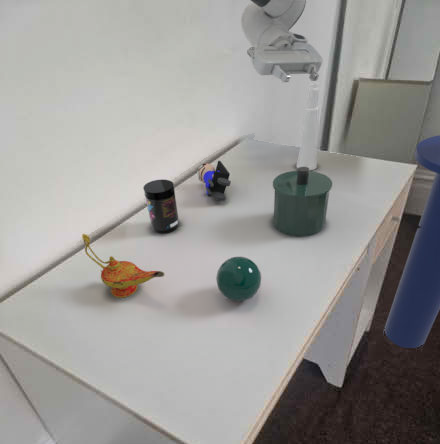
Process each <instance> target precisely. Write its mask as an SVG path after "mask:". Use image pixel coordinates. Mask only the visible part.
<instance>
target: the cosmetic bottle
mask: <svg viewBox="0 0 440 444" xmlns="http://www.w3.org/2000/svg"><path fill="white" fill-rule="evenodd" d="M319 86H320V84H319V83H318V82H310V83H309V87H308V89H307V101H306V107H305V108H304V113H303V121H302V128H301V137H300V144H299V145H300V146H299V152H298V156H297V157H298V158H297V161H296V165H295V166H296V169H298V168H299V167H308V168H309V171H314V170H316V169H317V167H318V160H317V159H318V156H317V152H318V151H317V149H318V148H317V147H318V132H319V131H318V130H319V113H320V111H319V110H320V108H319V107H318V105H319V104H318V103H319V96H320V87H319Z"/></svg>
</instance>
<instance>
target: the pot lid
mask: <svg viewBox="0 0 440 444" xmlns="http://www.w3.org/2000/svg"><path fill="white" fill-rule="evenodd" d="M272 188H273V190H274V191H275V190H276V191H277V192H278V193H280V194H283V195H285V196H289V197H294V198H312V197H317V196H321V195H324V194H326V193H327V192H329V193H330V191H331V190H332V189H333V181H332V179H331V178H330V177H329V176H328V175H326V174H324V173H321V172H317V171H314V170H310V171H309V168H308V167H299V168H297V170H291V171H286V172H283V173H280V174H278V175H277V176H276V177H275V178H273V180H272Z"/></svg>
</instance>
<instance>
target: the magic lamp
mask: <svg viewBox="0 0 440 444" xmlns="http://www.w3.org/2000/svg"><path fill="white" fill-rule="evenodd" d="M81 236H82V240H83V243H84V245H85V247H84V252H85V254H86V256H87V257H89V258H90V259H91V260H92V261H93V262H94V263H95V264H97V265H98V266H99V267H100V268H102V269H101V270H100V272H101V273H100V279H101V282H102V283H103V284H104V285H106V286H107V287H110V288H111V289H110V292H111V295H112V296H113V297H115V298H120V299H121V298H127V297H130V296H132V295H133V294H135V293H136V291H137V290H138V285H141V284H144V283H146V282H148V281H150V280H152V279H154V278H163V277H164V276H165V272H163V271H161V270H150V271H149V270H147V271H146V270H143V269H142V268H139V266H137V265H136V264H135V263H134V262H132V261H127V260H116V259H115V257H114V256H112V255H111V256H109V260H107V261H103V260H102V259H101V258H100V257H98V256H97V255H96V253H95V252H94V250H93V249H92V248H91V246H90V244H91V243H90V242H91V237H90V236H89V235H88V234H86V233H82V235H81ZM88 249H89V250H90V252H91V254H92V255H93V256H94V257H92V255H91V254H89V253H88ZM96 259H97V260H98V261H97V260H96ZM103 264H106V266H105V265H103Z"/></svg>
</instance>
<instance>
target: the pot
mask: <svg viewBox="0 0 440 444" xmlns="http://www.w3.org/2000/svg"><path fill="white" fill-rule="evenodd" d="M329 197H330V191H329V192H327V193H326V194H324V195H321V196H317V197H312V198H294V197H289V196H285V195H283V194H280V193H278V192H277V191H276V190H275V189H274V201H273V203H274V204H273V226H274V228H275V229H276V230H277V231H278V232H280V233H281V234H284V235H287V236H292V237H309V236H310V237H311V236H313V235H316V234H319V232H321V231H322V230H323V229H324V227H325V224H326V219H327V214H328V213H327V211H328V206H329V205H328V204H329Z"/></svg>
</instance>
